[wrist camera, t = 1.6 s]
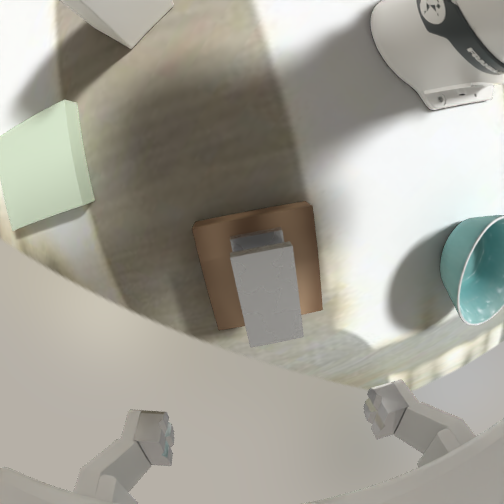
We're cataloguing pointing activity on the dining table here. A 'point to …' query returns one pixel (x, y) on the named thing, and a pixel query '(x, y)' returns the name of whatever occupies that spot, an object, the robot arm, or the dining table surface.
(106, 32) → the milk carton
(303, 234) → the stand
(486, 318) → the bowl
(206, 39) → the dining table surface
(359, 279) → the dining table surface
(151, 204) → the dining table surface
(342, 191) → the dining table surface
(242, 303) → the block
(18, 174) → the stand
